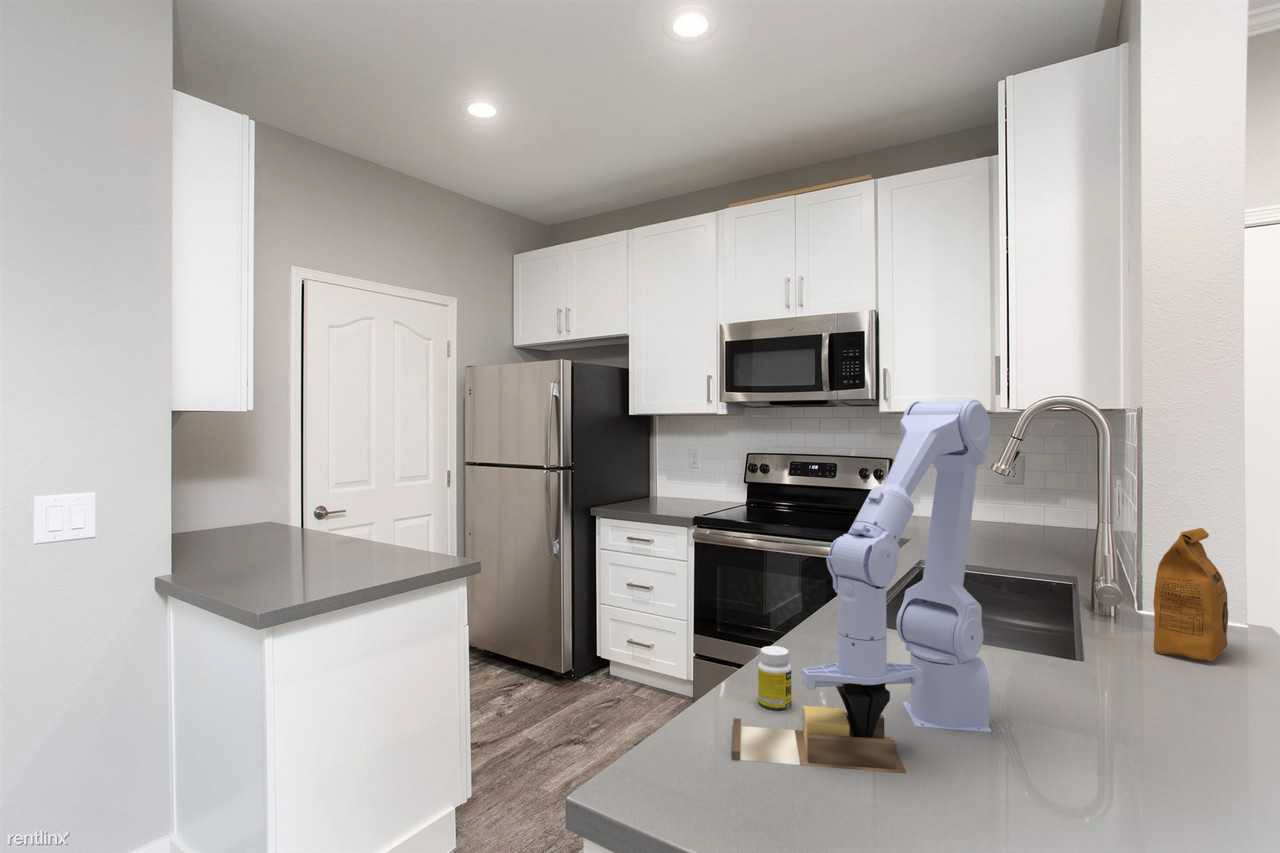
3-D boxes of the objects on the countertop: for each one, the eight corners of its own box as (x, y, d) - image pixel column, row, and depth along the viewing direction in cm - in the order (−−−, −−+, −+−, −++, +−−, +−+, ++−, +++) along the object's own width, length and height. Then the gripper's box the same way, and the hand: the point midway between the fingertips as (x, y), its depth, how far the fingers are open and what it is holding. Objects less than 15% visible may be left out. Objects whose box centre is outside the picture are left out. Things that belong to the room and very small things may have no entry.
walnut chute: (890, 740, 84) (889, 713, 84) (906, 777, 76) (906, 747, 76) (733, 729, 88) (733, 703, 88) (731, 763, 79) (731, 734, 79)
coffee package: (1239, 654, 116) (1239, 530, 116) (1215, 669, 109) (1214, 537, 109) (1170, 639, 124) (1170, 523, 124) (1143, 652, 117) (1143, 529, 117)
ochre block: (843, 739, 84) (843, 708, 84) (849, 759, 79) (849, 726, 79) (803, 736, 84) (803, 705, 84) (806, 755, 79) (806, 722, 79)
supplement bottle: (792, 717, 91) (791, 657, 91) (757, 714, 92) (757, 654, 92) (791, 703, 96) (790, 645, 96) (758, 700, 97) (758, 643, 97)
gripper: (902, 622, 85) (902, 726, 85) (793, 625, 84) (794, 731, 84) (931, 639, 78) (931, 753, 78) (813, 643, 77) (813, 758, 77)
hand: (861, 743), depth 81 cm, fingers closed
